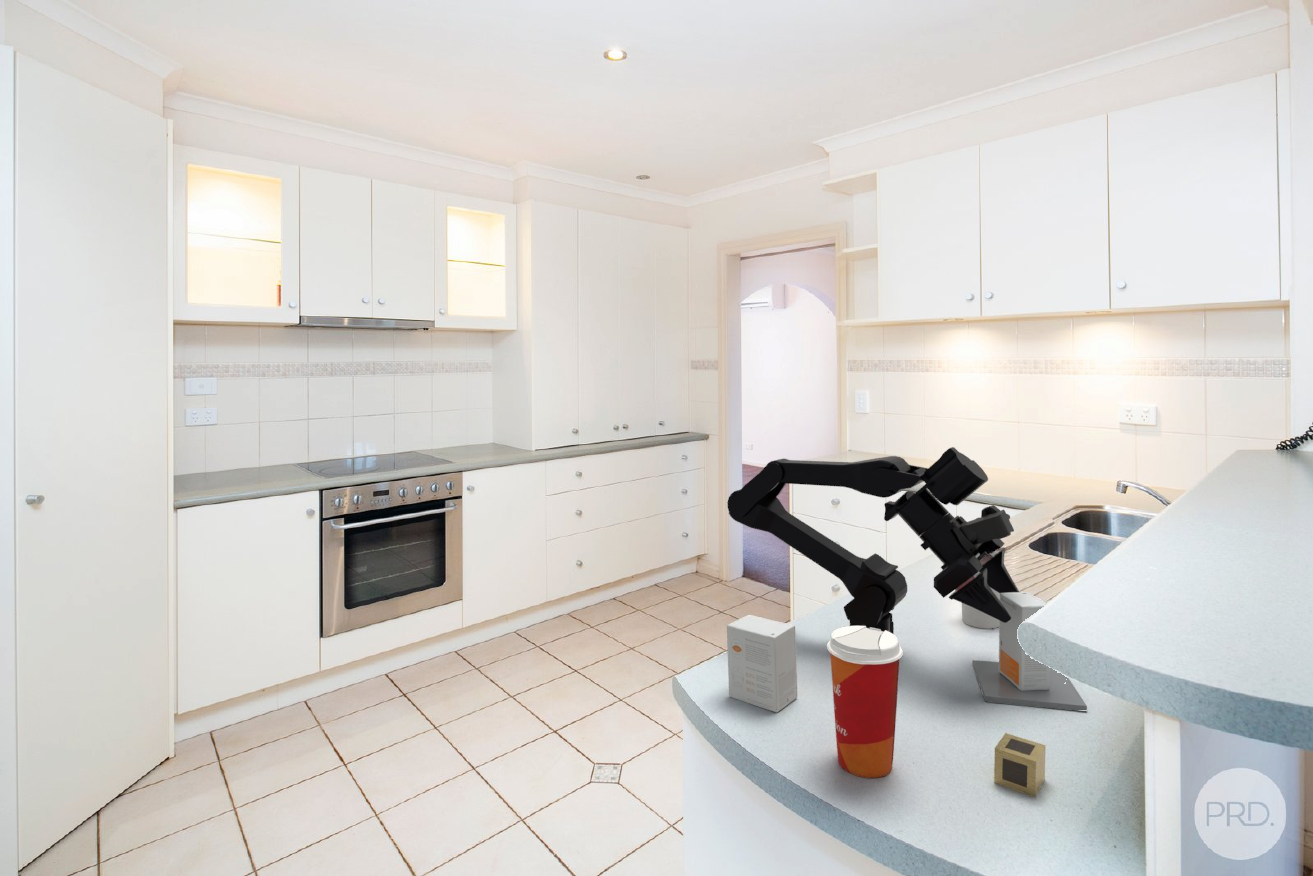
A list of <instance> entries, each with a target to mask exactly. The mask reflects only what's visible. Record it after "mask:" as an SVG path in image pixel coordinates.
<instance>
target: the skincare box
mask: <svg viewBox="0 0 1313 876" xmlns="http://www.w3.org/2000/svg"><path fill="white" fill-rule="evenodd" d="M1000 602H1001V603H1002V605H1003V606H1004V607H1005V609H1006V610H1007V612H1008V613H1009V615H1010V616H1011V620H1009V621H1008V622H1006V623H1004V622H1002V621H1000V620H999V627H998V630H999V633H998V635H999V636H998V639H999V640H998V662H999V672H1000V673H1001V674H1003V675H1004V676H1005V677H1006V678H1007V679H1008V680H1010V681H1011V682H1012V683H1013V684H1014V685H1015V686H1016V687H1017V688H1018V689H1019V690H1021V691H1028V690H1049V689H1050V668H1049V667H1048V666H1046V665H1044V664H1041V663H1039V662H1038V661H1035V660H1034V659H1031V658H1030V656H1029V655H1026V654H1025V651H1024V650H1023V649H1022V647H1021V646H1020V644H1019V642H1018V639H1017V629H1018V627H1019V625H1020V624H1021V623H1022V622H1023V621H1025V619H1027V618H1029V617H1030V616H1031V615H1033V614H1034V613H1036V612H1037V611H1038V610H1039V609H1041V608H1042V607H1044V605H1045V604H1048V603H1047V602H1045V601H1043V599H1041V598H1039V597H1037V596H1034V594H1031V593H1030V592H1028V591H1019V592H1008V593H1000Z"/></svg>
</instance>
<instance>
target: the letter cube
mask: <svg viewBox="0 0 1313 876" xmlns="http://www.w3.org/2000/svg"><path fill="white" fill-rule="evenodd" d="M993 764H994V767H993V768H994V769H993V770H994V772H993V773H994V774H993V775H994V777H993V778H994V779H993V781H994V782H993V783H994V784H998V785H999V786H1003V787H1005V788H1009V789H1011V790H1013V791H1017V792H1020V793H1023V794H1025V795H1029V796H1031V797H1034V798H1036V796H1037V795H1038V793H1039V791H1040V789H1041V787H1042V786H1043V784H1044V782H1045V780H1046V744H1044V743H1043V744H1042V743H1039V742H1037V741H1032V740H1029V739H1026V738H1023V737H1019V736H1017V735H1013V734H1010V733H1008V732H1005V733H1004V735H1003V736H1002V737H1001V739H1000V740H999V741H998V743H997V744H996V746H995V747H994V763H993Z"/></svg>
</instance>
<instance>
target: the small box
mask: <svg viewBox="0 0 1313 876" xmlns="http://www.w3.org/2000/svg"><path fill="white" fill-rule="evenodd" d="M796 637H797V635H796V625H794V624H790V623H787V622H786V623H785V622H781V621H777V620H773V619H769V618H765V617H760V616H757V615H753V614H747V615H745V616H743V617H741V618H739V619H737V620H735V621H733V622H731V623H729V624H727V625H726V639H727V640H726V643H727V644H726V645H727V646H726V647H727V668H728V670H727V672H728V695H729V697H730V698H733V699H736V700H738V701H741V702H744V703H747V704H749V705H754V706H756V707H759V708H761V709H765V710H768V711H771V712H774V713H779V712H780V711H781V710H782V709H784V708H785V707H787V706H788V705H789V704H790V703H792V702H794V700H796V699H797V698H798V673H797V672H798V671H797V639H796Z"/></svg>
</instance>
